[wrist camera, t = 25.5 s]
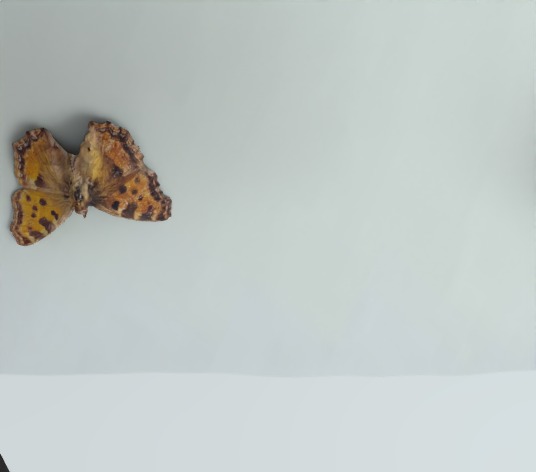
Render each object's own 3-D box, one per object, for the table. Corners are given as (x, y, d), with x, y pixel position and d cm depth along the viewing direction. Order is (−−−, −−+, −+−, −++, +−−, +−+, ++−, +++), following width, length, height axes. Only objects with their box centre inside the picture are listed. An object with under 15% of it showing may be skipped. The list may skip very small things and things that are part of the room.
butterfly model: (174, 215, 41) (175, 229, 38) (18, 245, 40) (6, 261, 37) (150, 108, 38) (149, 114, 35) (-21, 137, 36) (-37, 145, 34)
